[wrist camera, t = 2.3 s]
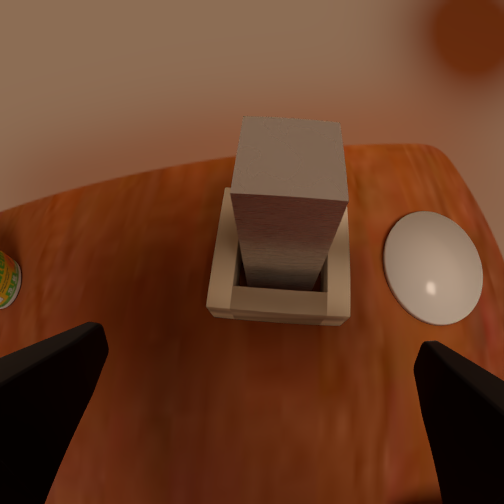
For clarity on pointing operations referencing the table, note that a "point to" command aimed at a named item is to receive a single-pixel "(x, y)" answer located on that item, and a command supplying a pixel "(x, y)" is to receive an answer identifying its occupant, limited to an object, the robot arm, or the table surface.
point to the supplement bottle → (8, 280)
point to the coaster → (432, 268)
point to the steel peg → (287, 199)
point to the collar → (275, 300)
